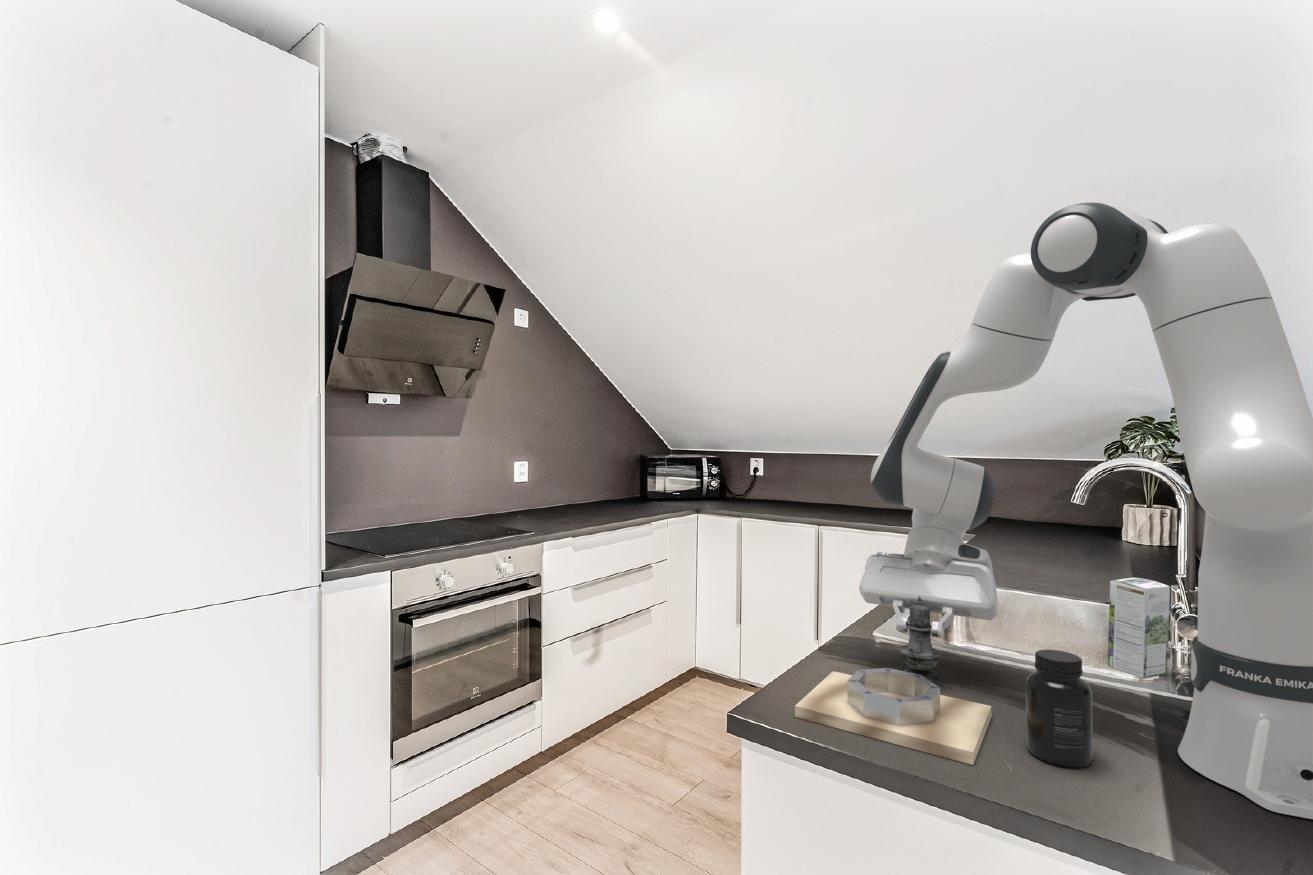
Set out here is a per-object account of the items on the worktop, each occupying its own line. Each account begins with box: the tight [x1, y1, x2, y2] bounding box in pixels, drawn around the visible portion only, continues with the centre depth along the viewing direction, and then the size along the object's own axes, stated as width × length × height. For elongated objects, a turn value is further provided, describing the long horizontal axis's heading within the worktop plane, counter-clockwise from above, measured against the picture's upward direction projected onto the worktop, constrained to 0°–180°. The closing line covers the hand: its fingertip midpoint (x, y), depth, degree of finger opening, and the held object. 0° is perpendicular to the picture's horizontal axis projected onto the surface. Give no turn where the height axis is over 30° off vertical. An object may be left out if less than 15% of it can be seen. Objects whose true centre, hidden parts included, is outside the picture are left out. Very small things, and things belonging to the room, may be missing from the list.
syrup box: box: [1107, 577, 1171, 680], centre depth 104 cm, size 6×6×14 cm
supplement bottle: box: [1025, 648, 1094, 768], centre depth 78 cm, size 7×7×12 cm
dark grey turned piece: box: [899, 596, 942, 682], centre depth 99 cm, size 6×6×12 cm
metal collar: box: [848, 667, 941, 726], centre depth 88 cm, size 11×11×3 cm
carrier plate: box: [794, 670, 993, 766], centre depth 88 cm, size 22×15×2 cm
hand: (918, 632), depth 98 cm, fingers closed on dark grey turned piece, 4 cm apart
